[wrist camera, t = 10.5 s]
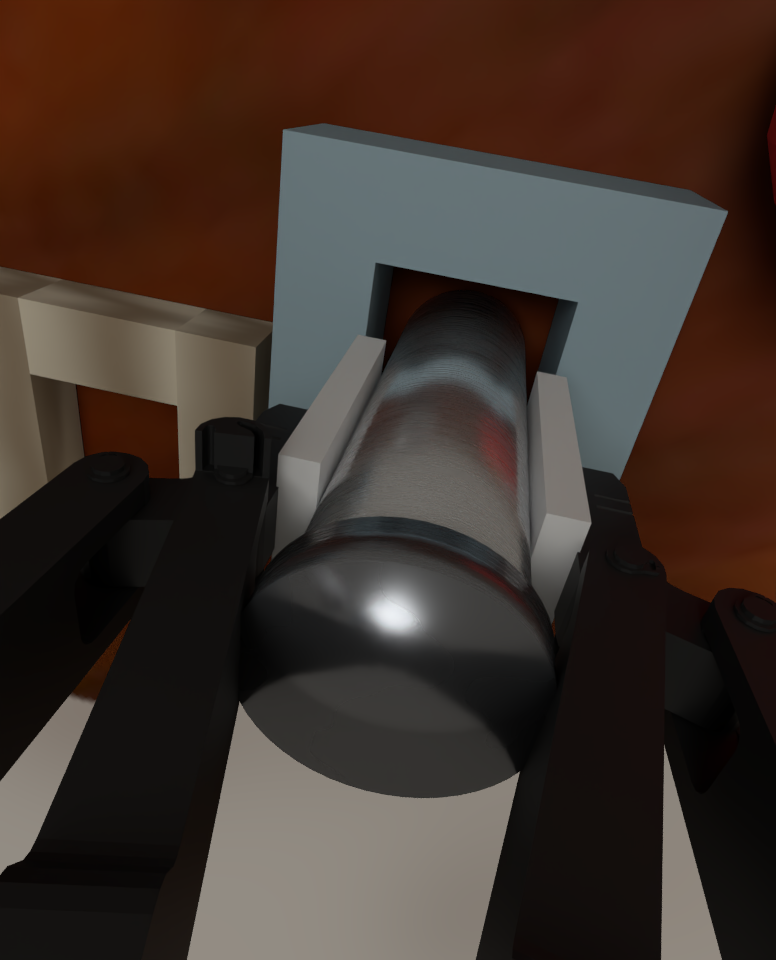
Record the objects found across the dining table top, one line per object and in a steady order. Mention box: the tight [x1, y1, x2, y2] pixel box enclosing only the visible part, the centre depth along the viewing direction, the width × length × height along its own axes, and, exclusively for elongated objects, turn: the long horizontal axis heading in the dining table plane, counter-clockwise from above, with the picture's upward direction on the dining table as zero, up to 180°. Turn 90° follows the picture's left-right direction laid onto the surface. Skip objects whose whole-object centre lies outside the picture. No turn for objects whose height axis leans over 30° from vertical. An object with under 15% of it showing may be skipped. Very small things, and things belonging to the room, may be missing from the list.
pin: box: [238, 290, 557, 798], centre depth 15 cm, size 5×5×14 cm
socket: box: [268, 123, 728, 480], centre depth 20 cm, size 11×11×4 cm
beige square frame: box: [0, 267, 273, 519], centre depth 25 cm, size 11×11×2 cm
